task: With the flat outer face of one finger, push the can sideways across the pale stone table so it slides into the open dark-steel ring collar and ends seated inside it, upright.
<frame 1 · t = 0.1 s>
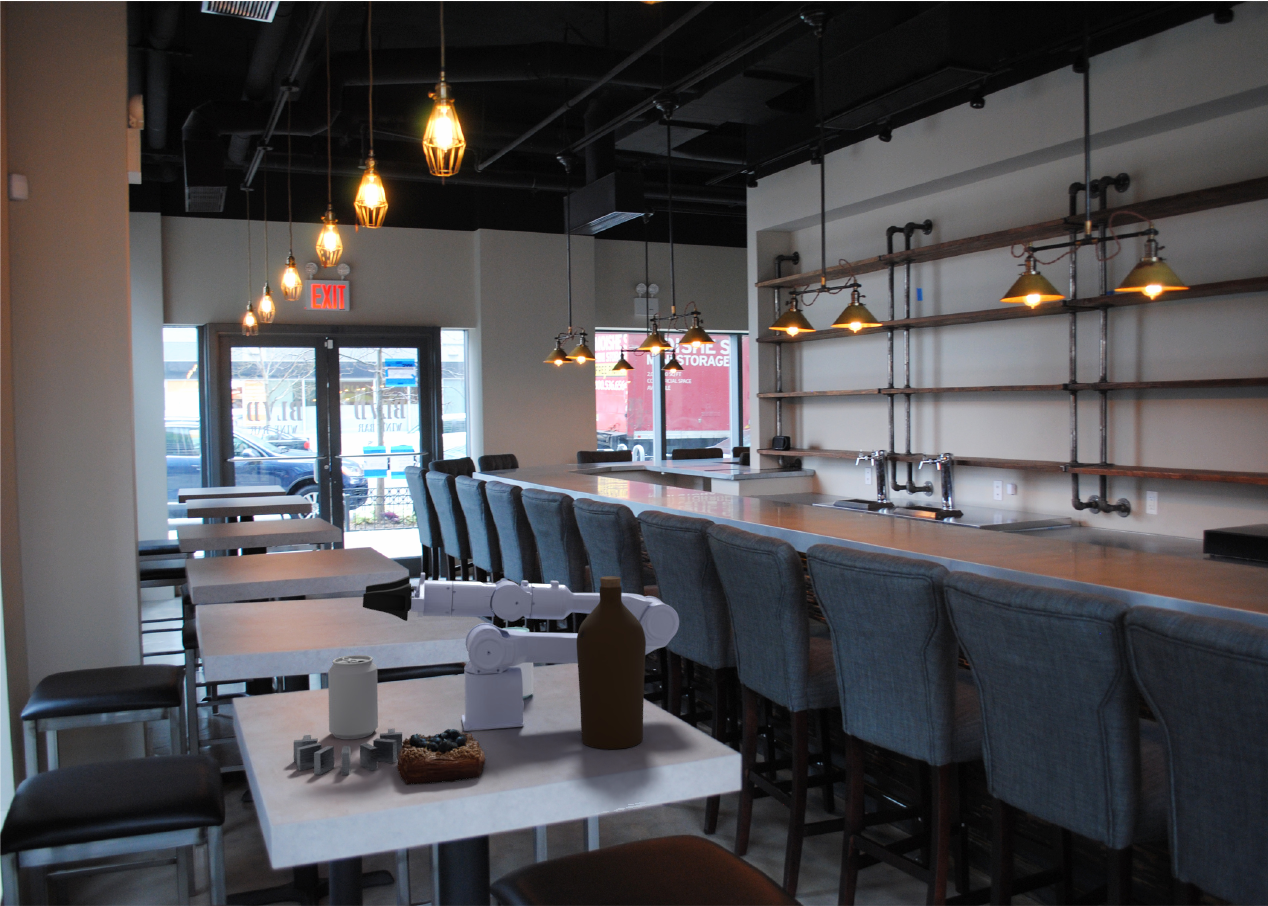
hand: (364, 596, 152), 22 cm above the table, tool horizontal, fingers open, 7 cm apart
can 2: (514, 697, 173), on the table
ring collar: (349, 757, 140), on the table
pastry: (441, 773, 134), on the table
can: (353, 735, 152), on the table
olive oil: (612, 741, 147), on the table
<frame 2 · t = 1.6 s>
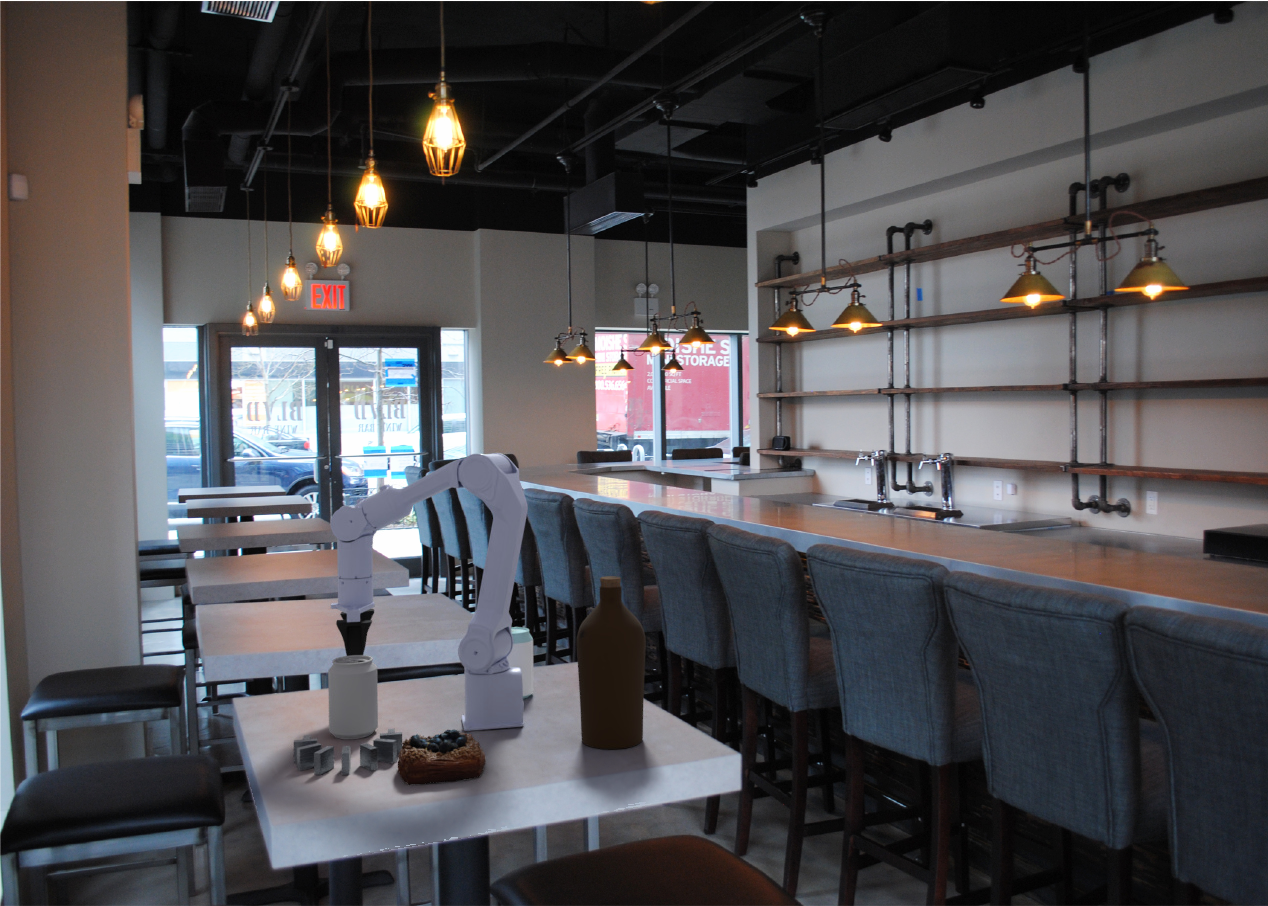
hand: (356, 657, 161), 10 cm above the table, tool pointing down, fingers open, 7 cm apart
nothing on the table moved.
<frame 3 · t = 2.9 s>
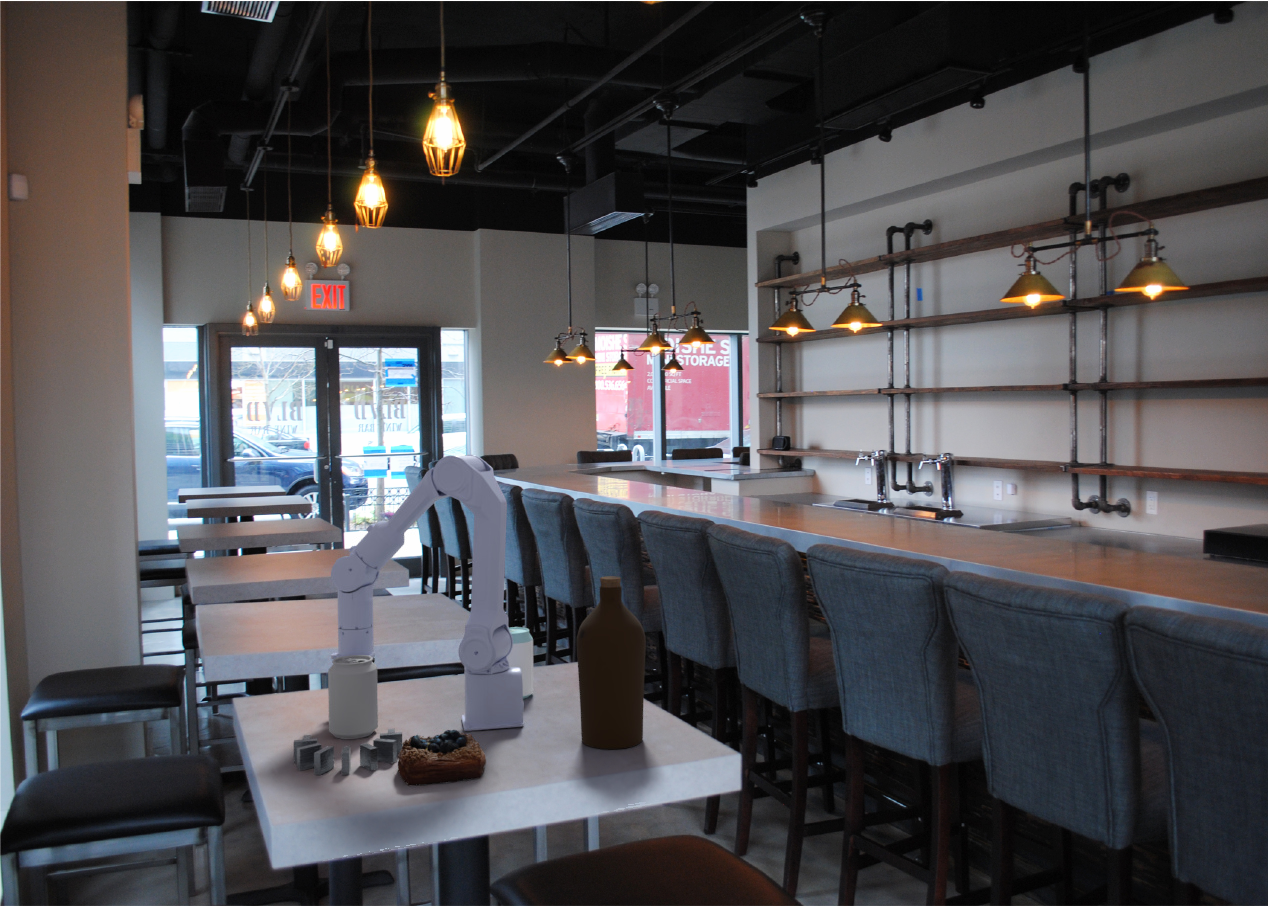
hand: (356, 707, 161), 2 cm above the table, tool pointing down, fingers open, 6 cm apart
can: (353, 734, 152), on the table, touching gripper
everything else where it was.
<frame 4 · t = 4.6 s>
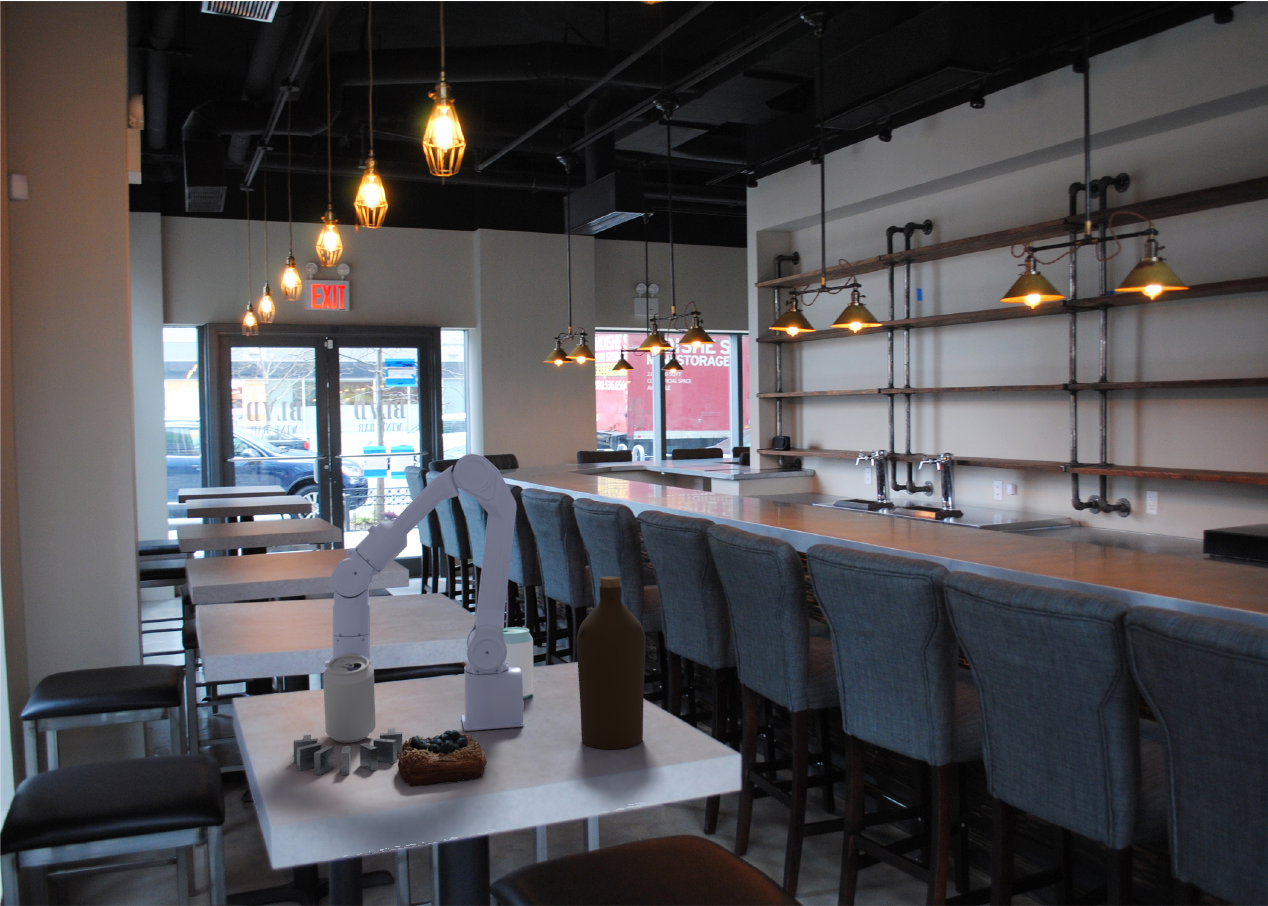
hand: (350, 718, 153), 2 cm above the table, tool pointing down, fingers closed, pressing on can
can: (351, 733, 149), point 1 cm above the table, touching gripper
everything else where it was.
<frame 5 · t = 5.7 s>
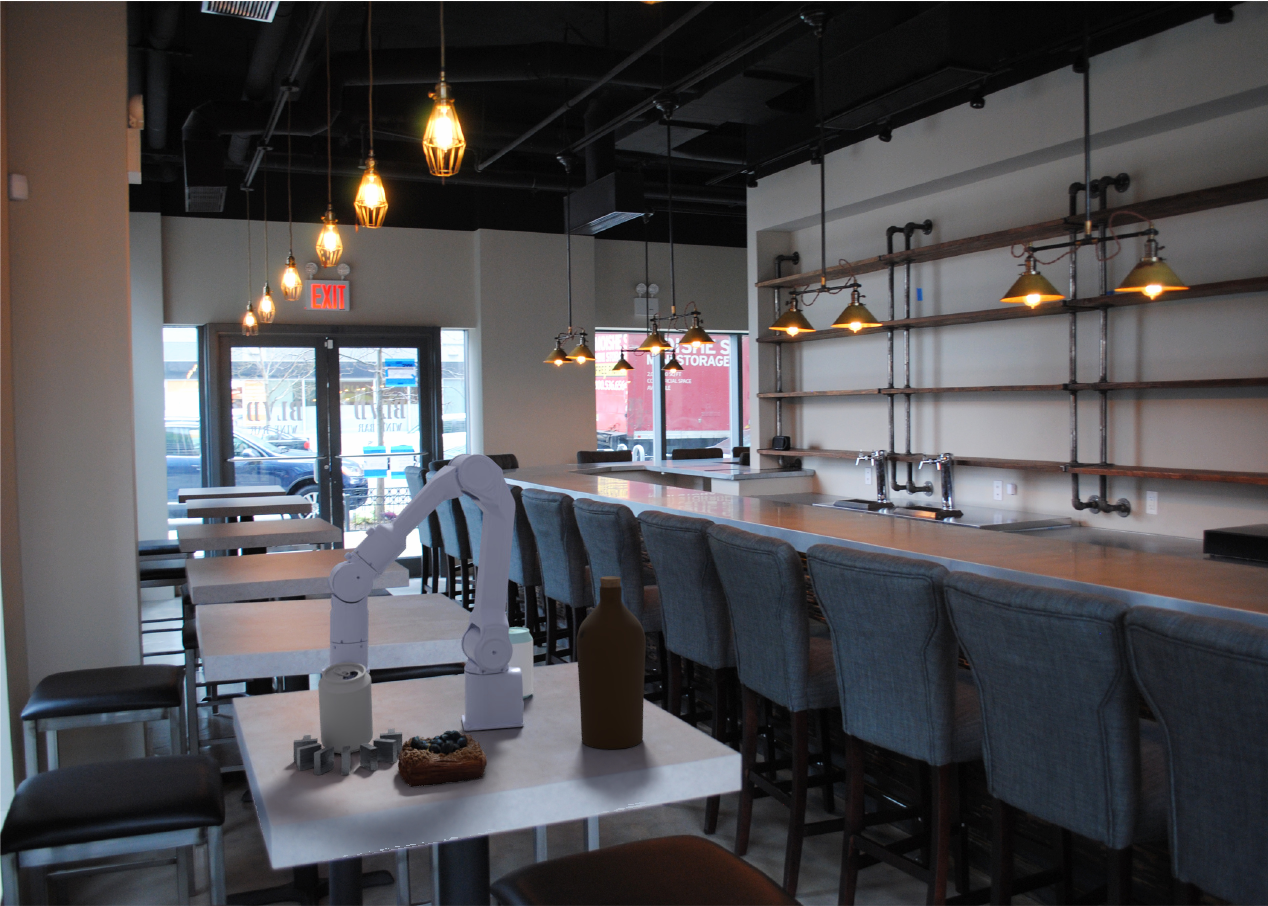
hand: (348, 728, 148), 2 cm above the table, tool pointing down, fingers closed, pressing on can
can: (347, 744, 144), point 1 cm above the table, touching gripper
everything else where it was.
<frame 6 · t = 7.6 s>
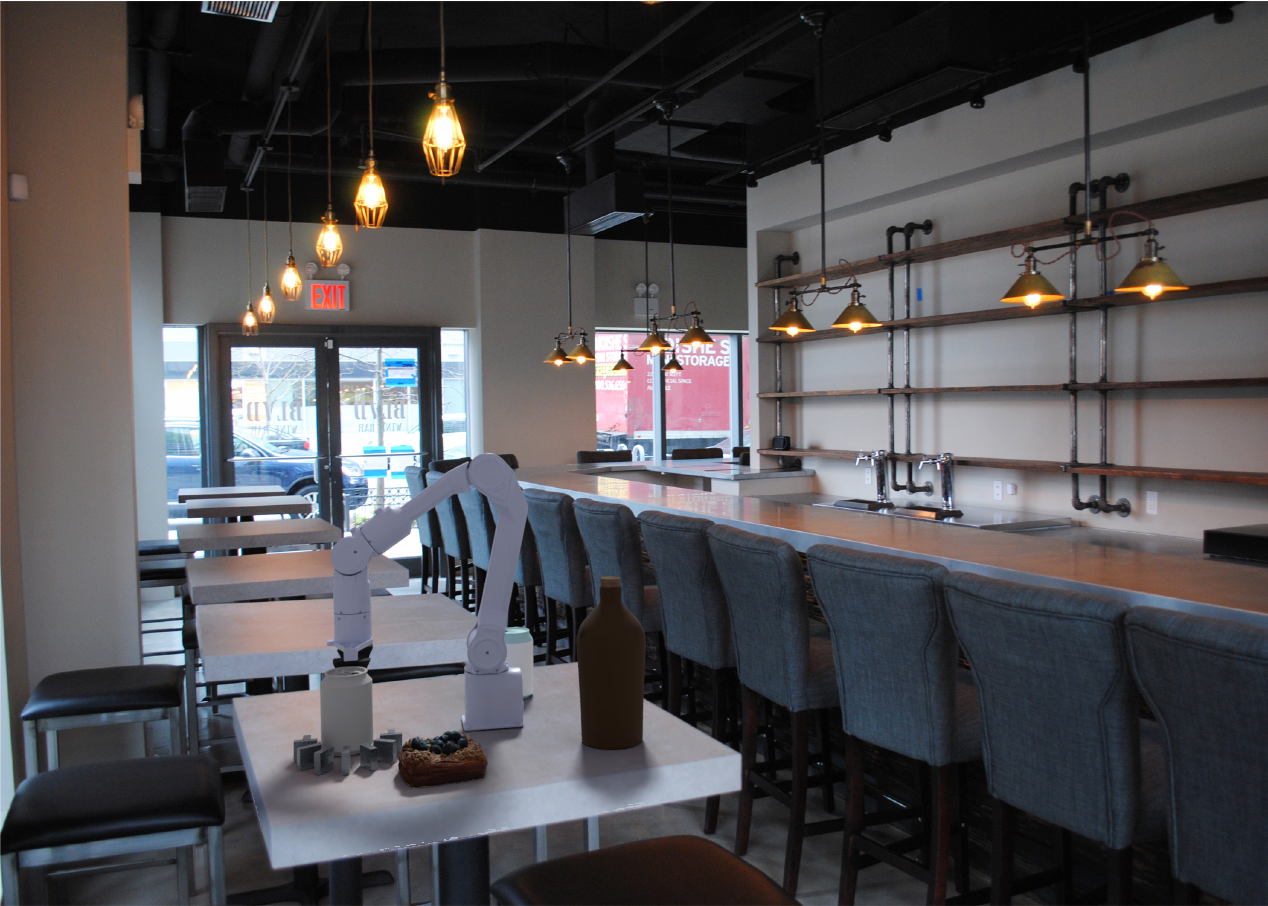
hand: (354, 696, 153), 6 cm above the table, tool pointing down, fingers open, 7 cm apart
can: (347, 751, 144), on the table
everything else where it was.
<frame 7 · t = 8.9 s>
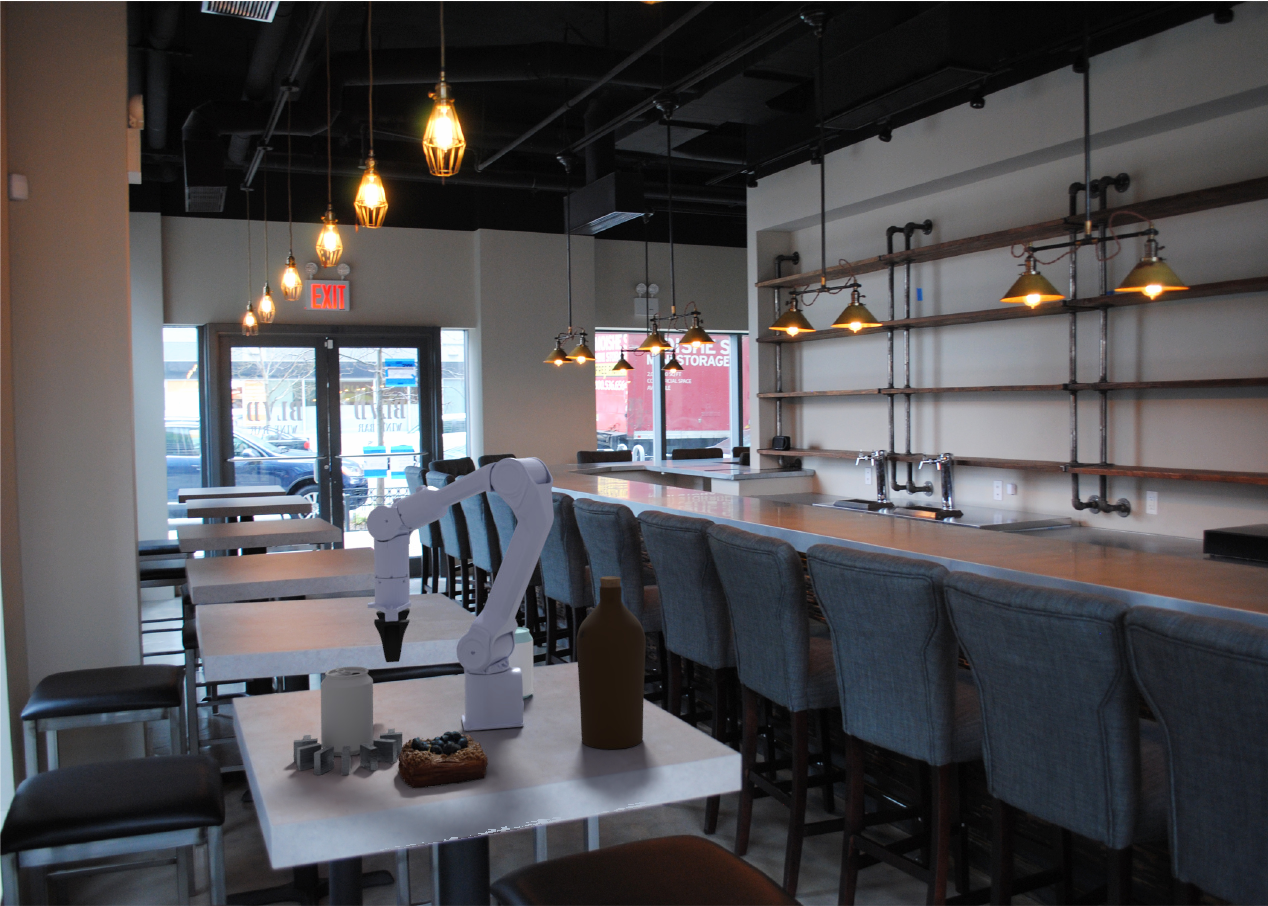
hand: (393, 656, 162), 10 cm above the table, tool pointing down, fingers open, 7 cm apart
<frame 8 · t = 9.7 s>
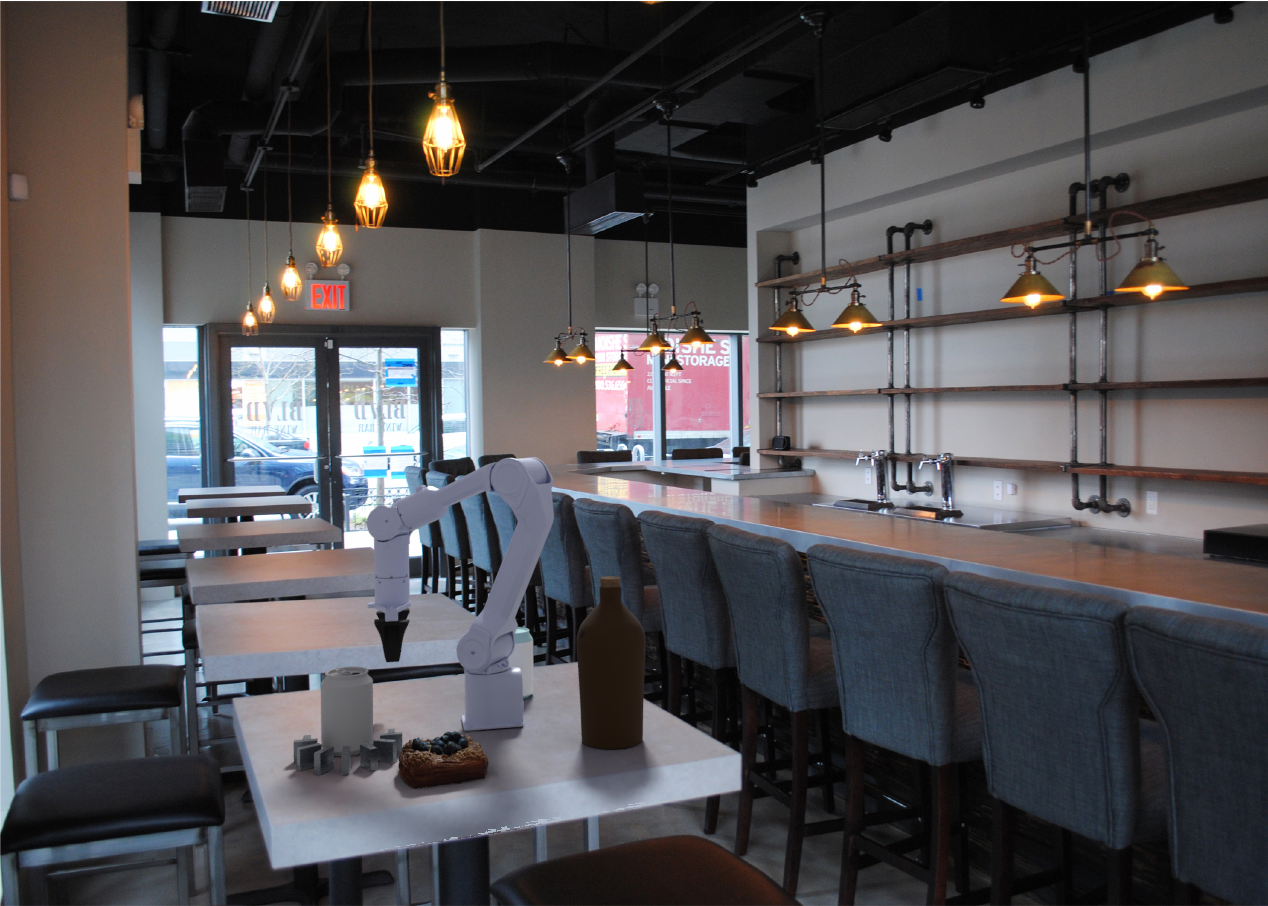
hand: (393, 656, 162), 10 cm above the table, tool pointing down, fingers open, 7 cm apart
at the end: can 3.8 cm from the ring collar (horizontally); can tilted 0° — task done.
